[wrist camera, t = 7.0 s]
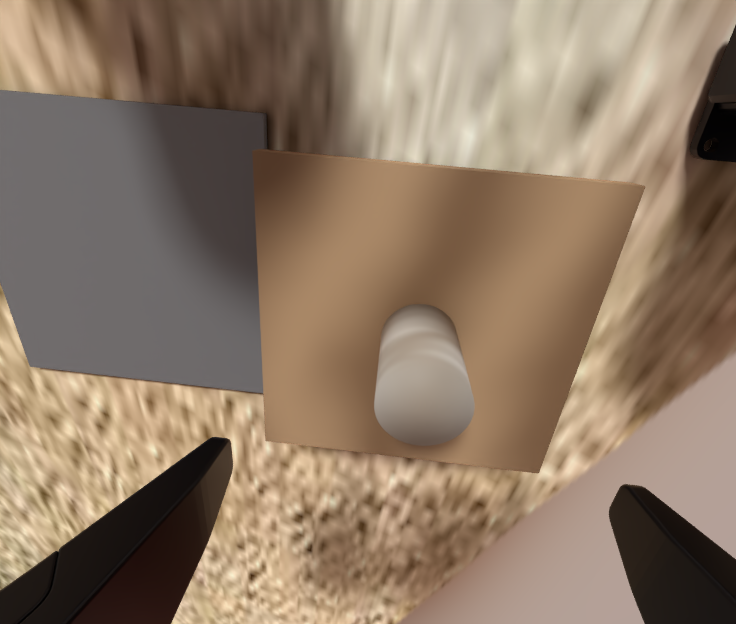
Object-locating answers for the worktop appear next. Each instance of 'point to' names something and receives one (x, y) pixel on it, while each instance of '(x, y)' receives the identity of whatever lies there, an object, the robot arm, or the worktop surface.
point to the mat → (132, 238)
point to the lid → (427, 303)
